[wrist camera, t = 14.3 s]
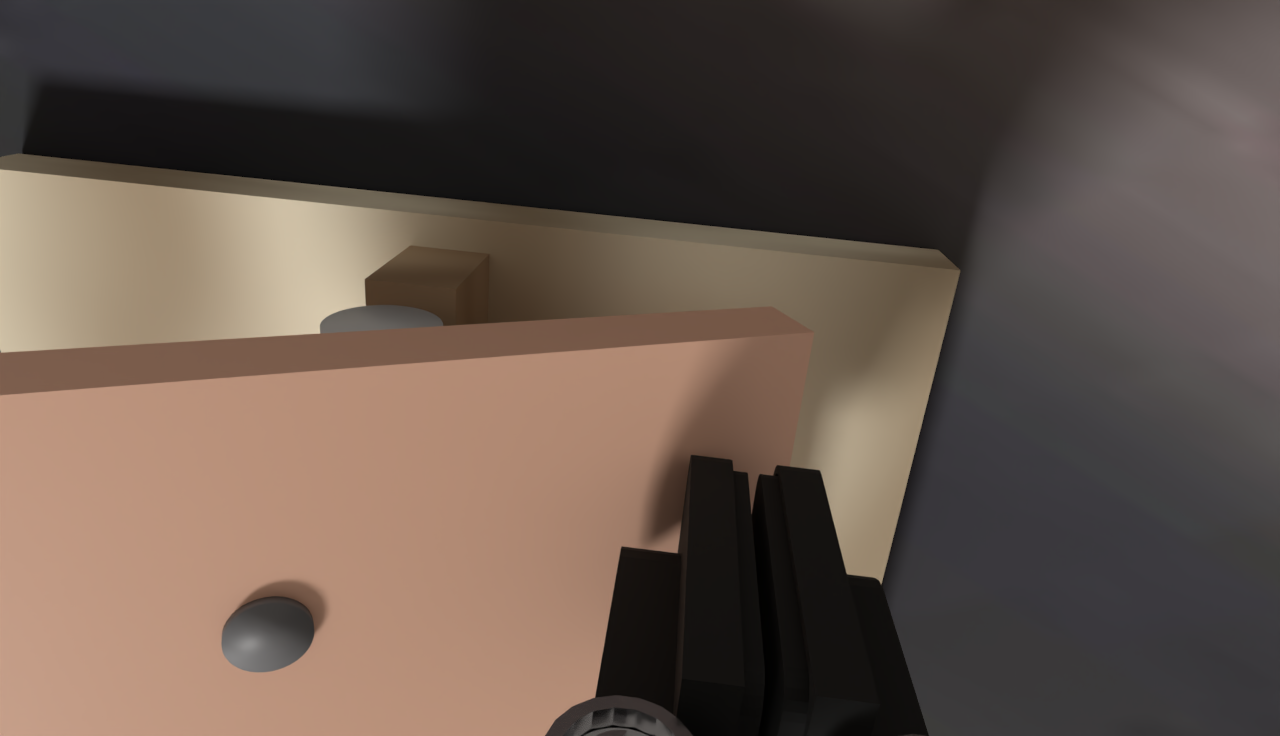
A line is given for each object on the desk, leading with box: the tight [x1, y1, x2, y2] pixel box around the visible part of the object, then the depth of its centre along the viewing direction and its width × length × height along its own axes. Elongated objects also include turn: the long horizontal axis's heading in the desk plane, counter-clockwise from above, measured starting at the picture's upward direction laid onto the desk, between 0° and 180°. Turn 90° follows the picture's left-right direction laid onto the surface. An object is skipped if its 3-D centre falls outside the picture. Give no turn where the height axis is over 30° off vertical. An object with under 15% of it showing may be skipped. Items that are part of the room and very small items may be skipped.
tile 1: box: [0, 305, 814, 736], centre depth 10 cm, size 10×6×2 cm, turn 84°
